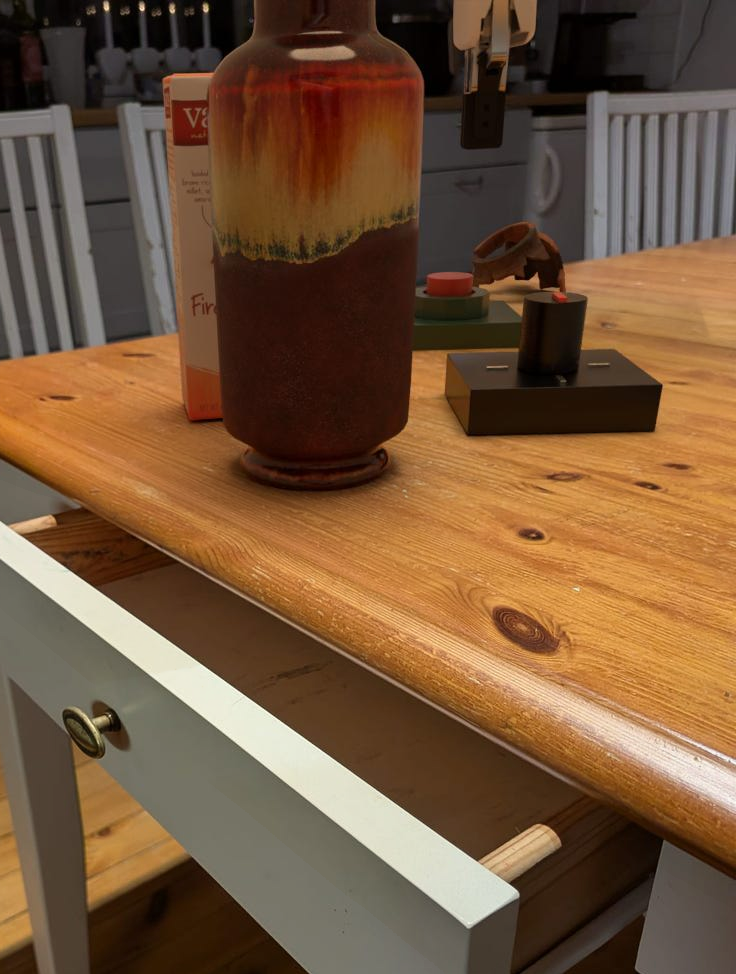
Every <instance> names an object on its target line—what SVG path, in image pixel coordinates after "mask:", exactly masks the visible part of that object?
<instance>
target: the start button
mask: <svg viewBox="0 0 736 974" xmlns="http://www.w3.org/2000/svg"><path fill="white" fill-rule="evenodd" d="M472 274H473V273H468V272H460V271H441V272H434V273H429V274H427V275H426V276H427V277H426V287H427V289H426V294H427V295H432V296H464V295H471V294H472V286H473V275H472Z"/></svg>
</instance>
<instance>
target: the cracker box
mask: <svg viewBox="0 0 736 974" xmlns="http://www.w3.org/2000/svg"><path fill="white" fill-rule="evenodd" d="M213 73H214V72H197V73H193V72H192V73H173V74H172V75H167V76H165V77H163V78H162V93H163V107H164V108H163V109H164V120H165V121H164V123H165V137H166V154H167V174H168V189H169V191H168V192H169V206H170V222H171V224H170V225H171V239H172V257H173V270H174V271H173V272H174V288H175V290H174V291H175V304H176V305H175V306H176V320H177V332H178V333H177V336H178V351H179V368H180V383H181V397H182V401H183V405H184V407H185V410H186V413H187V416H188V419H189V420H190V421H197V420H212V419H213V420H214V419H223V414H222V402H221V390H220V372H219V353H218V335H217V316H216V297H215V279H214V259H213V239H212V218H211V198H210V177H209V157H208V134H207V100H206V94H207V86H208V83H209V80H210V79H211V77H212V75H213Z"/></svg>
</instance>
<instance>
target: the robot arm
mask: <svg viewBox="0 0 736 974" xmlns="http://www.w3.org/2000/svg"><path fill="white" fill-rule="evenodd" d="M537 3H538V0H453V7H452V8H453V11H452V12H453V14H452V37H453V38H452V39H453V45H454V46H455V47H456V48H457V49H458V50H460V51H464V72H463V74H464V75H463V78H464V79H463V94H461V95H462V96H461V98H462V99H461V118H460V136H459V146H460V148H461V149H463V150H468V151H470V150H489V149H490V150H491V149H500V148H501V147H502V145H503V142H504V141H503V139H504V126H505V111H506V100H507V99H506V95H507V92H506V87H507V76H508V69H509V68H508V66H509V55H510V49H511V48H514V47H519V46H523V45H526V44H527V43H529V42H530V41H531V40H532V39H533V37H534V35H535V32H536V25H537V6H538V5H537ZM487 43H488V45H486V44H487Z"/></svg>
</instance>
